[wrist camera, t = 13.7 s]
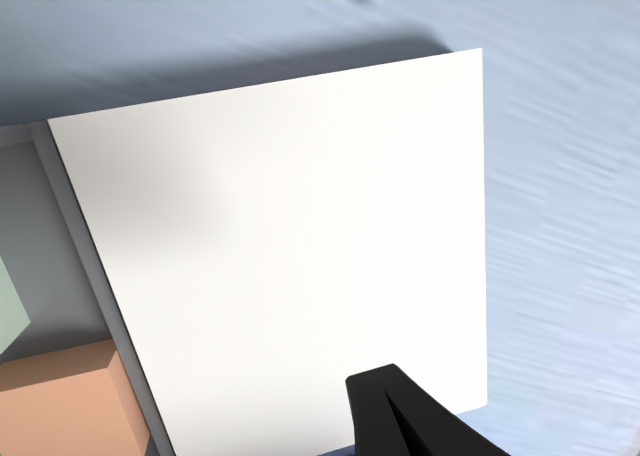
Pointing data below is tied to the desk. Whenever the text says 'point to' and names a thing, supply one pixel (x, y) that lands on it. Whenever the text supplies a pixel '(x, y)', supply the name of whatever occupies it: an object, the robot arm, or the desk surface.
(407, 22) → the desk surface
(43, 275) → the box
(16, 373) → the terracotta tile
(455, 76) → the white board
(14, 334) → the sage-green tile
